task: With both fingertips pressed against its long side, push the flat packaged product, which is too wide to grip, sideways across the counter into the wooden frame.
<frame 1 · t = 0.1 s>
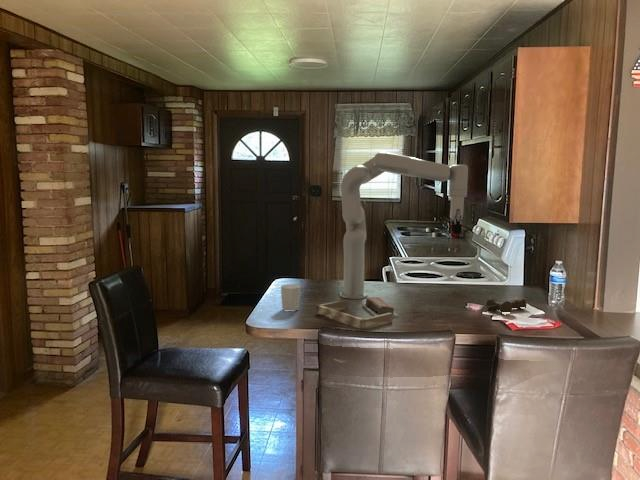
hand: (456, 232, 230), 31 cm above the kitchen counter, tool pointing down, fingers open, 9 cm apart
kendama: (504, 312, 218), on the kitchen counter
packaged product: (379, 313, 216), on the kitchen counter
white cup: (290, 310, 218), on the kitchen counter
wooden frame: (354, 317, 207), on the kitchen counter
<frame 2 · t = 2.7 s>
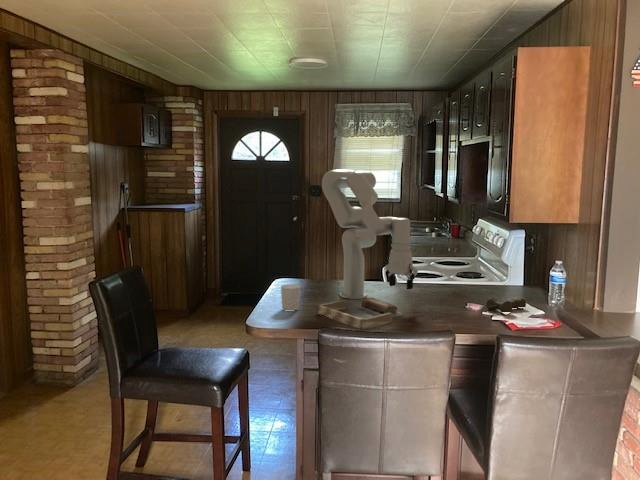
hand: (401, 287, 222), 9 cm above the kitchen counter, tool pointing down, fingers open, 9 cm apart
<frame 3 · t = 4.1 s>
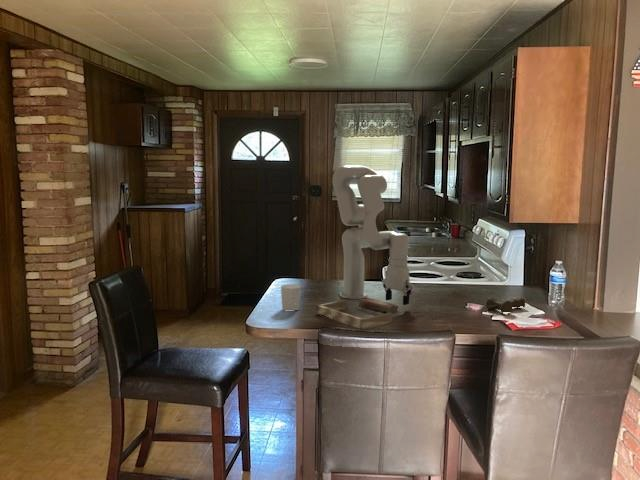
hand: (397, 302, 223), 2 cm above the kitchen counter, tool pointing down, fingers open, 9 cm apart
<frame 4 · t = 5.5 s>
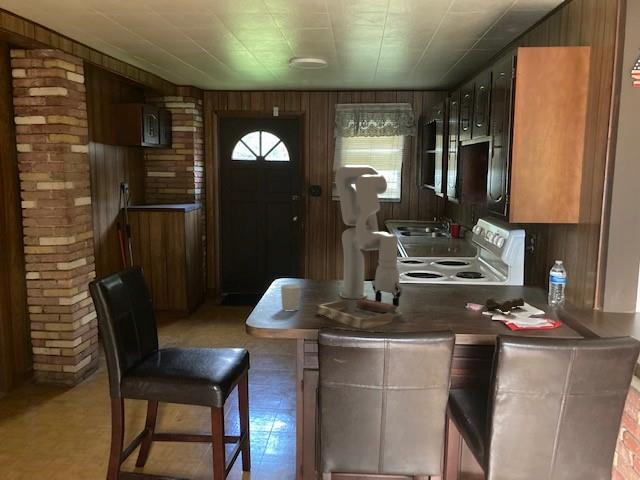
hand: (386, 304, 219), 2 cm above the kitchen counter, tool pointing down, fingers open, 9 cm apart
packaged product: (377, 314, 215), on the kitchen counter
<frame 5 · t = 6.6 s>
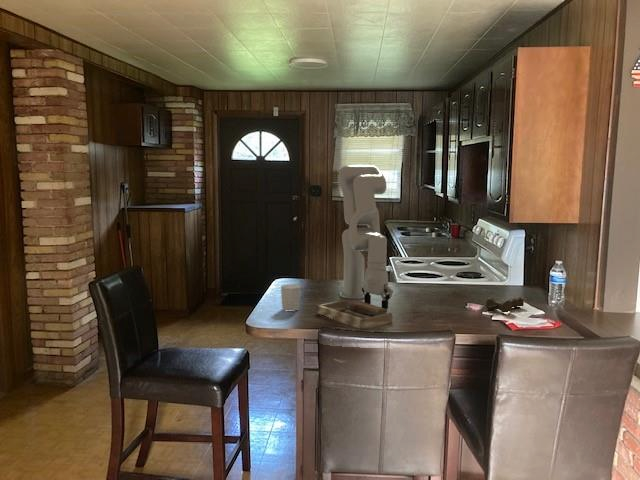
hand: (375, 306, 214), 2 cm above the kitchen counter, tool pointing down, fingers open, 9 cm apart
packaged product: (368, 317, 211), on the kitchen counter, touching gripper
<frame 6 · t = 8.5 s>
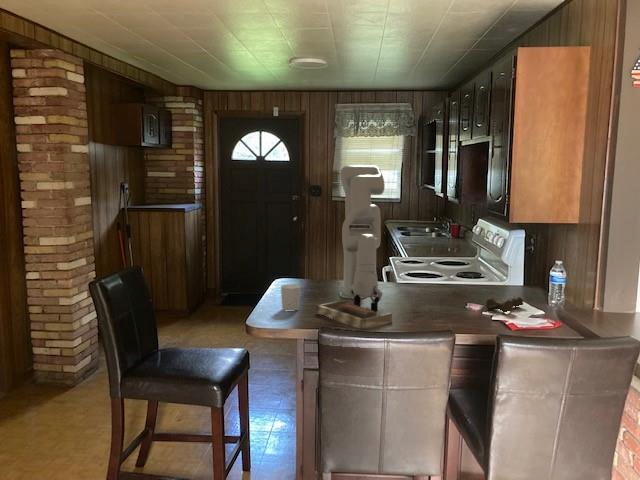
hand: (365, 309, 211), 2 cm above the kitchen counter, tool pointing down, fingers open, 9 cm apart
packaged product: (357, 319, 207), on the kitchen counter
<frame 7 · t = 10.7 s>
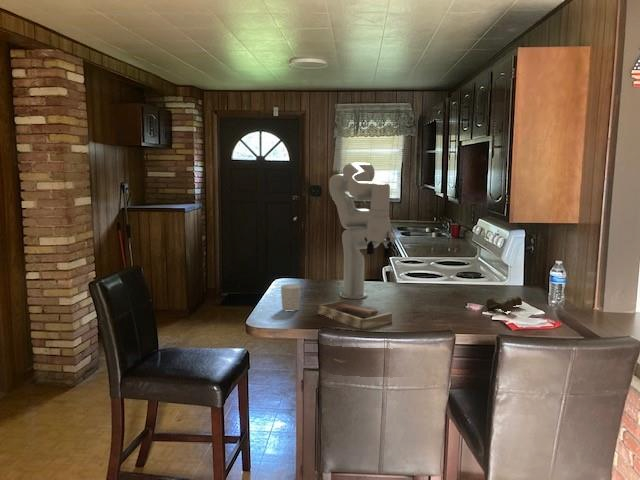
hand: (378, 255, 213), 23 cm above the kitchen counter, tool pointing down, fingers open, 9 cm apart
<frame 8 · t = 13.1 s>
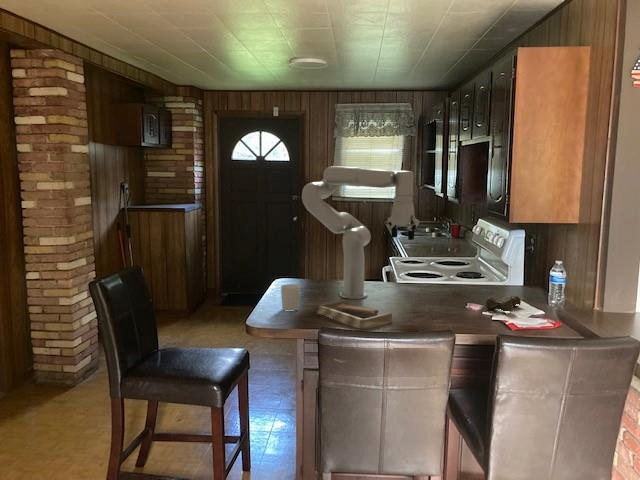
hand: (402, 238, 230), 28 cm above the kitchen counter, tool pointing down, fingers open, 9 cm apart
at the end: packaged product inside the target area on the wooden frame (1.5 cm from its centre), point -0.7 cm above the wooden frame's base; packaged product moved 13.2 cm from its start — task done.
